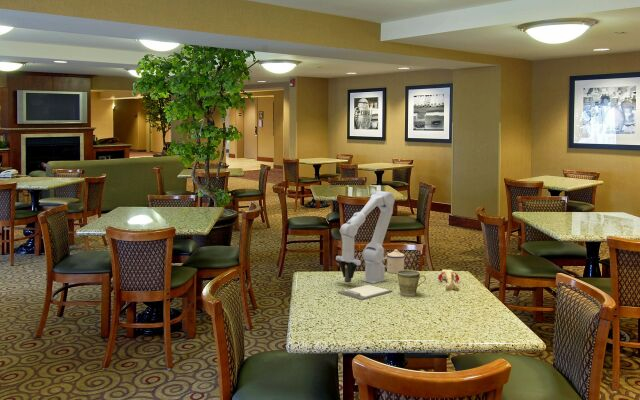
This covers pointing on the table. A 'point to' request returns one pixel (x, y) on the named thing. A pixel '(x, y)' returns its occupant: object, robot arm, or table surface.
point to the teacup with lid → (394, 261)
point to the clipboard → (365, 292)
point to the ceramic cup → (409, 281)
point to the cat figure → (449, 279)
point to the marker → (347, 275)
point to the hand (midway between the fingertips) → (348, 277)
